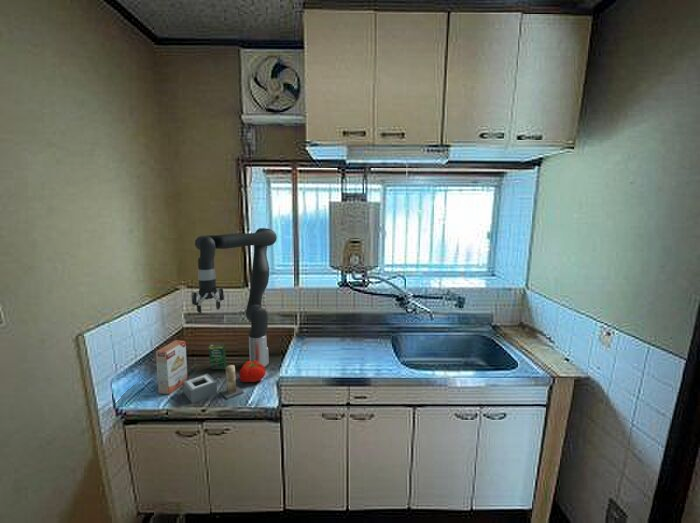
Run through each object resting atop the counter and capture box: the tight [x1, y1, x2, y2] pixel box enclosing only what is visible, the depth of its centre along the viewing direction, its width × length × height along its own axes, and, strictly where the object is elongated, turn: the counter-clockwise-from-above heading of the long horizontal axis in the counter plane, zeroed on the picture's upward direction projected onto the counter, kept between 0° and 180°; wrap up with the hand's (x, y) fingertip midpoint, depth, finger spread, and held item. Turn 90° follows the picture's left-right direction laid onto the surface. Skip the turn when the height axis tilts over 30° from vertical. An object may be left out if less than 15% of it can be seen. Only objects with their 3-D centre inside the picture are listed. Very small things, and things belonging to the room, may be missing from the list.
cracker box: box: [155, 339, 189, 395], centre depth 158 cm, size 14×6×21 cm, turn 172°
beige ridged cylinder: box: [225, 364, 237, 393], centre depth 154 cm, size 4×4×12 cm
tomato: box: [238, 360, 266, 383], centre depth 166 cm, size 14×13×9 cm
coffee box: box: [208, 344, 227, 370], centre depth 177 cm, size 8×3×13 cm, turn 88°
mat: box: [219, 384, 245, 400], centre depth 155 cm, size 8×8×1 cm
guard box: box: [182, 373, 218, 404], centre depth 153 cm, size 11×11×6 cm
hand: (209, 310), depth 160 cm, fingers open, 8 cm apart
